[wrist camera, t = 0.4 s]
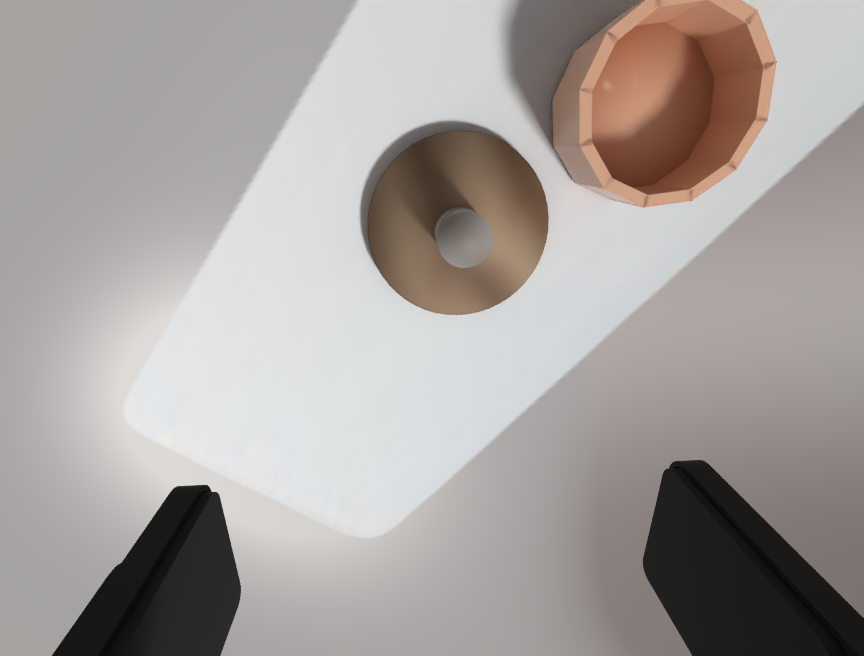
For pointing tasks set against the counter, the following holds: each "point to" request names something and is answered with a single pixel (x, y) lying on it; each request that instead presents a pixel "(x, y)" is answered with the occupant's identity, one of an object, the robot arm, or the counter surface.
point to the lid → (458, 222)
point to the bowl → (664, 100)
